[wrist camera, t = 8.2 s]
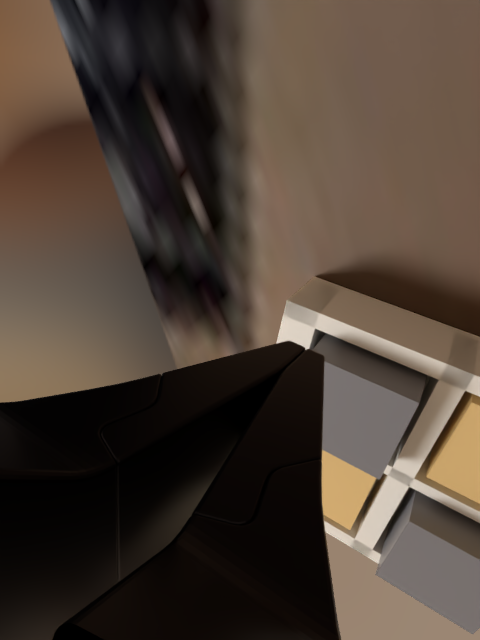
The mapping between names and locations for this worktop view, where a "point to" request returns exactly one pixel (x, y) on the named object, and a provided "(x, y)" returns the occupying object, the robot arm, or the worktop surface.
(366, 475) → the ochre key
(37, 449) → the robot arm
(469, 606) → the charcoal key far
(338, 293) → the keypad
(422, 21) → the worktop surface
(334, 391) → the charcoal key near
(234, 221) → the worktop surface
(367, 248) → the worktop surface
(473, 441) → the ochre key
